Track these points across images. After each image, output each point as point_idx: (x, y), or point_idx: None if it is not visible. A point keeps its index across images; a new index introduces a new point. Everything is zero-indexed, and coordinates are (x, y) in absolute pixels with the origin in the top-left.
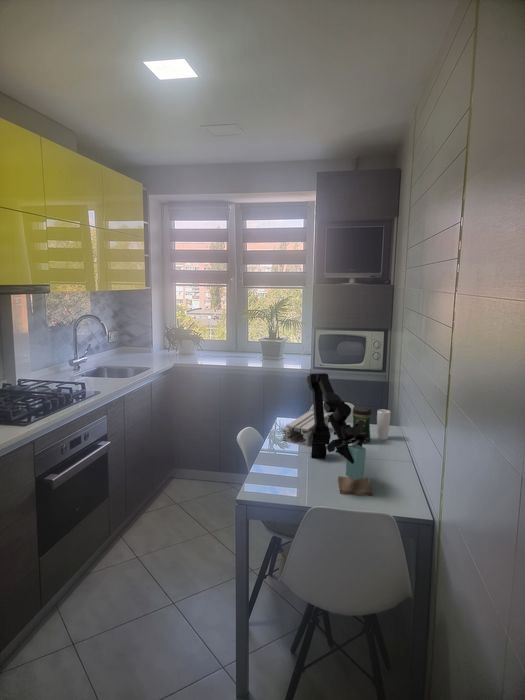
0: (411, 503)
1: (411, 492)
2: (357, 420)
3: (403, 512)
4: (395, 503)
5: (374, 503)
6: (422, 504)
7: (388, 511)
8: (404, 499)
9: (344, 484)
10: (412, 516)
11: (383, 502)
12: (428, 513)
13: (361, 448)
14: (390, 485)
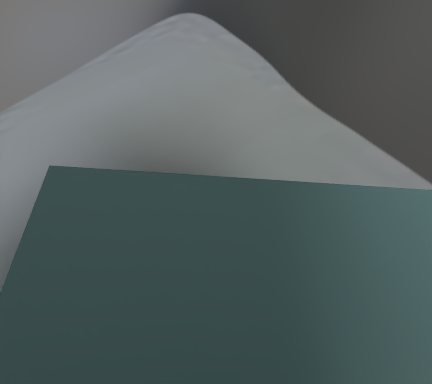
0: (138, 86)
1: (31, 136)
2: None
3: (236, 66)
4: (196, 118)
5: (285, 168)
6: (111, 62)
7: (285, 97)
8: (127, 117)
9: None
10: (233, 38)
11: (236, 151)
12: (163, 24)
13: (174, 232)
14: None
